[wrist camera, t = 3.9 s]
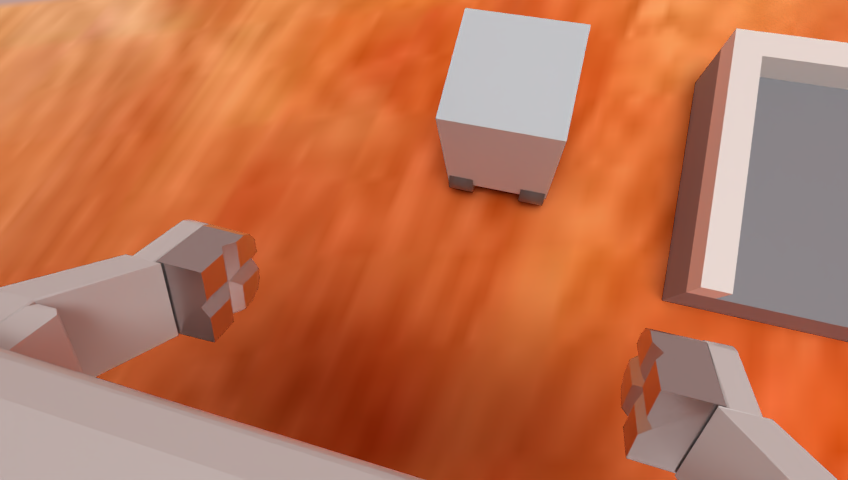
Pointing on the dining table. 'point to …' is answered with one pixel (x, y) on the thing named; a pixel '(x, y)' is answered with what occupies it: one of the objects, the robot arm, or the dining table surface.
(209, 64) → the dining table surface
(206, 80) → the dining table surface
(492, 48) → the white footed cube
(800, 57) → the dock
